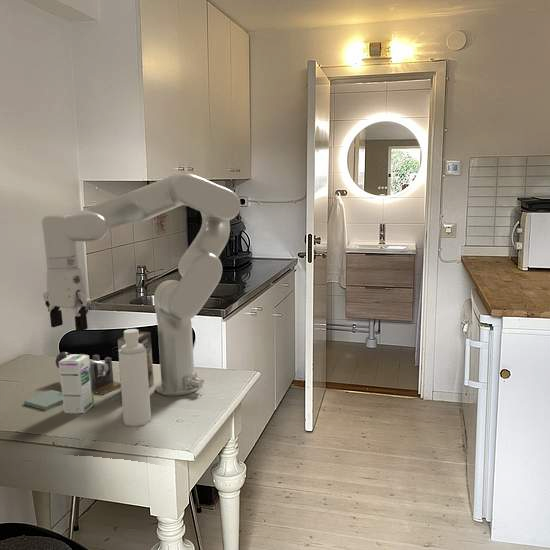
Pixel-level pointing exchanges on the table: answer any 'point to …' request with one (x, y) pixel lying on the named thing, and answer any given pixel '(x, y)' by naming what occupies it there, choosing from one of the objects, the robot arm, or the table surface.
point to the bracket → (103, 377)
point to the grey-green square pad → (45, 400)
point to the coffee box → (146, 341)
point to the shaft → (101, 366)
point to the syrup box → (76, 383)
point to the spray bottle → (134, 380)
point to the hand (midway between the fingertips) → (69, 328)
